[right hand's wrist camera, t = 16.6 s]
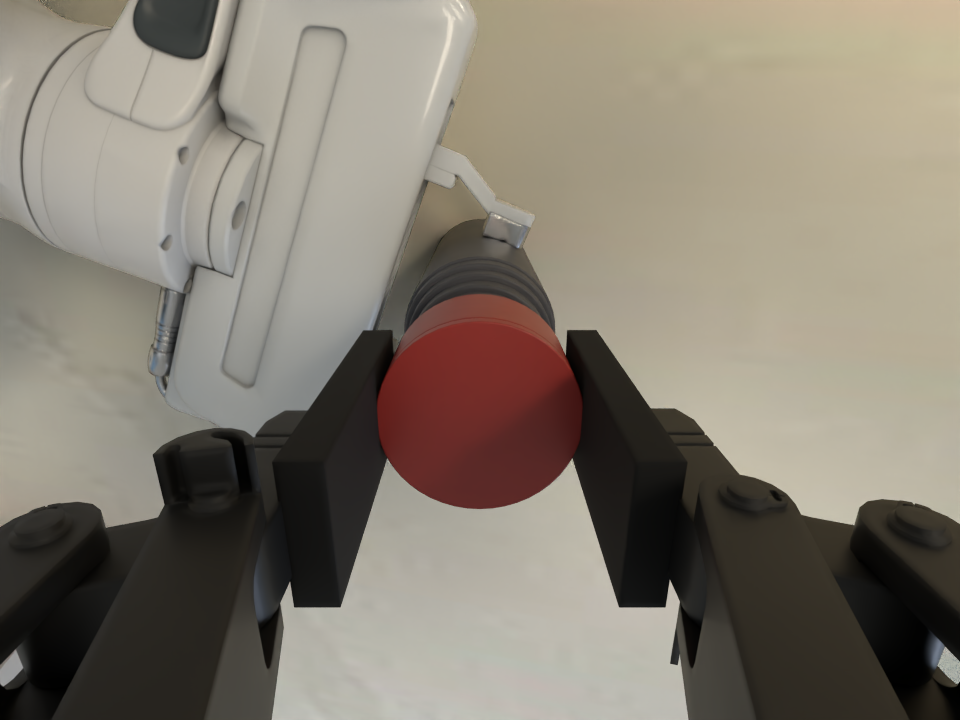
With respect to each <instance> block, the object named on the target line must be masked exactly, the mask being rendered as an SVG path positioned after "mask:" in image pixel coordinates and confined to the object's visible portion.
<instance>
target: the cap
mask: <svg viewBox="0 0 960 720" xmlns="http://www.w3.org/2000/svg"><path fill="white" fill-rule="evenodd" d="M582 408H583V400H582V395H581V391H580V388H579V385H578V382H577V380H576V378H575V376H574V373H573V371H572V369H571V367H570V364H569V362H568V360H567V358H566V356H565V353H564V351H563V349H562V347H561V344H560V342H559V340H558V338H557V337H556V335H555V333H554V332H553V330H552V329H551V328H550V326H549V325H548V324H547V323H546V322H545V321H544V320H543V319H542V318H541V317H540V316H539V315H538V314H536V313H535V312H534V311H532V310H531V309H529V308H528V307H526V306H524V305H522V304H520V303H518V302H516V301H514V300H511V299H508V298H505V297H500V296H495V295H487V294H473V295H464V296H459V297H455V298H452V299H449V300H446V301H443V302H441V303H439V304H437V305H435V306H433V307H432V308H430V309H429V310H427V311H426V312H424V313H423V314H422V315H421V316H420V317H419V318H417V319H416V320H415V321H414V322H413V324H412V325H411V326H410V327H409V328H408V330H407V331H406V333H405V334H404V336H403V337H402V339H401V341H400V343H399V345H398V348H397V350H396V352H395V354H394V357H393V359H392V361H391V363H390V366H389V368H388V370H387V373H386V375H385V377H384V379H383V382H382V384H381V387H380V390H379V394H378V398H377V415H378V428H379V439H380V443H381V446H382V448H383V450H384V452H385V455H386V457H387V458H388V460H389V461H390V463H391V464H392V466H393V467H394V469H395V470H396V471H397V472H398V473H399V475H400V476H401V477H402V478H403V479H404V480H405V481H407V482H408V483H409V484H410V485H411V486H413V487H414V488H415V489H417V490H418V491H419V492H421V493H423V494H425V495H426V496H428V497H430V498H432V499H435V500H437V501H440V502H442V503H445V504H449V505H452V506H457V507H463V508H472V509H488V508H497V507H503V506H507V505H511V504H514V503H518V502H520V501H522V500H525V499H527V498H529V497H531V496H533V495H535V494H537V493H538V492H540V491H542V490H543V489H544V488H546V487H547V486H548V485H550V484H551V483H552V482H553V481H554V480H555V479H556V478H557V477H558V476H559V475H560V474H561V473H562V472H563V471H564V469H565V468H566V467H567V465H568V464H569V462H570V461H571V459H572V458H573V456H574V454H575V451H576V449H577V447H578V445H579V442H580V435H581V422H582Z"/></svg>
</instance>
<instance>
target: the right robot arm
mask: <svg viewBox="0 0 960 720" xmlns="http://www.w3.org/2000/svg"><path fill="white" fill-rule="evenodd" d="M393 357H394V351H393V334H392V330H363V331H362V333H361V334H360V336H359V337H358V339H357V340H356V341H355V343H354V344H353V346H352V347H351V349H350V350H349V352H348V353H347V354H346V356H345V357H344V359H343V360H342V362H341V363H340V365H339V366H338V367H337V369H336V370H335V372H334V373H333V375H332V376H331V378H330V379H329V380H328V382H327V383H326V385H325V386H324V388H323V389H322V391H321V392H320V393H319V395H318V396H317V398H316V399H315V401H314V402H313V404H312V405H311V406H310V408H309V409H308V410H285V411H283V412H281V413H280V414H278V415H276V416H275V417H273V418H271V419H270V420H268V421H266V422H265V423H264V425H263V426H262V427H261V428H260V430H259V431H258V432H257V433H256V434H255V437H253V436H251V435H250V434H249V433H247V432H246V431H243V430H239V429H234V428H213V429H207V430H202V431H196V432H193V433H190V434H187V435H184V436H181V437H178V438H176V439H174V440H172V441H170V442H168V443H166V444H164V445H163V446H161V447H160V448H159V449H158V450H157V451H156V452H155V453H154V454H153V458H154V462H155V466H156V471H157V475H158V479H159V483H160V487H161V491H162V496H163V500H164V504H165V505H164V507H163V509H162V511H161V513H160V515H159V517H158V518H154V519H150V520H145V521H140V522H135V523H129V524H124V525H119V526H114V527H108V528H106V527H105V523H104V520H103V516H102V513H101V510H100V509H99V508H97V507H96V506H95V505H93V504H89V503H82V502H72V503H62V504H61V503H57V504H52V505H48V507H45V506H44V507H40V508H37V509H34V510H32V511H30V512H29V513H27V514H25V515H22V516H20V517H17V518H15V519H13V520H11V521H10V522H8V523H6V524H5V525H3V526H1V527H0V665H1V664H2V663H3V662H4V661H5V660H6V659H7V658H8V657H9V656H10V654H11V653H12V652H13V651H14V650H15V649H16V651H17V654H18V656H19V659H20V661H21V664H22V666H23V669H22V670H21V671H20V672H19V673H18V674H17V675H16V676H15V678H14V679H12V680H11V681H10V682H9V683H7V684H6V685H5V686H4V687H3V686H2V685H1V684H0V720H272V713H273V705H274V698H275V690H276V682H277V675H278V667H279V660H280V652H281V645H282V637H283V630H284V625H283V618H282V612H281V606H280V602H281V600H282V598H283V596H284V593H285V591H286V589H287V587H288V584H289V582H290V583H291V590H292V596H293V603H294V607H341V604H342V601H343V598H344V594H345V591H346V588H347V585H348V582H349V578H350V575H351V572H352V569H353V566H354V562H355V559H356V556H357V553H358V550H359V546H360V543H361V540H362V537H363V534H364V530H365V527H366V524H367V521H368V518H369V514H370V511H371V508H372V505H373V502H374V498H375V495H376V492H377V489H378V486H379V483H380V479H381V476H382V473H383V470H384V467H385V463H386V460H387V457H386V455H385V452H384V450H383V448H382V446H381V443H380V439H379V428H378V415H377V398H378V394H379V390H380V387H381V384H382V382H383V379H384V377H385V375H386V373H387V370H388V368H389V366H390V363H391V361H392V359H393ZM566 358H567V360H568V362H569V364H570V367H571V369H572V371H573V373H574V376H575V378H576V380H577V382H578V385H579V388H580V391H581V395H582V400H583V408H582V422H581V435H580V442H579V445H578V447H577V449H576V451H575V454H574V456H573V461H574V464H575V468H576V471H577V474H578V477H579V480H580V484H581V487H582V490H583V493H584V496H585V500H586V503H587V506H588V509H589V512H590V516H591V519H592V522H593V525H594V528H595V532H596V535H597V538H598V541H599V544H600V548H601V551H602V554H603V557H604V560H605V564H606V567H607V570H608V573H609V576H610V580H611V583H612V586H613V589H614V592H615V596H616V599H617V602H618V605H619V607H666V600H667V594H668V587H669V581H670V580H671V583H672V585H673V587H674V589H675V591H676V594H677V596H678V598H679V600H680V606H679V612H678V618H677V624H676V630H675V636H674V642H673V648H672V655H671V662H670V664H675V665H678V660H679V655H680V659H681V666H682V674H683V681H684V689H685V696H686V704H687V711H688V719H689V720H960V682H959V683H958V684H955V683H954V682H953V681H952V680H951V679H950V678H948V677H947V676H946V675H945V674H944V672H943V671H942V670H941V669H940V668H939V667H938V666H937V665H938V662H939V660H940V657H941V655H942V652H943V650H944V647H946V648H947V649H948V650H949V651H950V652H951V653H952V654H953V655H954V656H955V657H956V658H957V659H958V660H959V661H960V524H959V523H957V522H955V521H954V520H952V519H950V518H949V517H947V516H945V515H942V514H940V513H938V512H935V511H933V510H931V509H930V508H928V507H926V506H922V505H919V504H916V503H915V504H913V503H912V502H907V501H894V500H884V499H881V500H874V501H868V502H866V503H865V504H864V505H862V506H861V507H860V508H859V511H858V515H857V518H856V522H855V525H849V524H844V523H838V522H833V521H828V520H822V519H817V518H812V517H808V516H804V515H801V514H800V512H799V510H798V508H797V506H796V504H795V503H794V502H793V501H792V500H791V498H790V497H789V496H788V495H787V494H786V493H784V492H783V491H781V490H780V489H778V488H777V487H775V486H773V485H772V484H769V483H767V482H764V481H761V480H759V479H756V478H753V477H748V476H743V475H739V473H738V472H737V471H736V470H735V469H734V467H733V466H732V465H731V464H730V463H729V461H728V460H727V459H726V458H725V457H724V455H723V454H722V453H721V452H720V451H719V449H718V448H717V447H716V446H714V445H713V442H712V441H711V440H710V439H709V437H708V436H707V435H705V434H704V431H703V430H702V429H701V428H700V427H699V425H698V424H697V423H696V422H695V421H694V419H692V418H690V417H688V416H687V415H685V414H683V413H682V412H680V411H678V410H676V409H651V408H650V407H649V406H648V404H647V403H646V401H645V400H644V398H643V397H642V395H641V394H640V393H639V391H638V390H637V388H636V387H635V385H634V384H633V382H632V381H631V380H630V378H629V377H628V375H627V374H626V372H625V371H624V369H623V368H622V367H621V365H620V364H619V362H618V361H617V359H616V358H615V356H614V355H613V354H612V352H611V351H610V349H609V348H608V346H607V345H606V343H605V342H604V341H603V339H602V338H601V336H600V335H599V333H598V332H597V330H567V345H566Z"/></svg>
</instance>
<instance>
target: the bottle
mask: <svg viewBox="0 0 960 720" xmlns="http://www.w3.org/2000/svg"><path fill="white" fill-rule="evenodd" d="M485 221H486V220H483V219H477V220H470V221H466V222H463V223H461V224H459V225H457V226H455V227H454V228H452V229H451V230H450V231H449V232H448V233H446V234H445V236H444V237H443V238H442V240H441V241H440V243H439V244H438V246H437V248H436V250H435V252H434V254H433V256H432V258H431V260H430V262H429V264H428V266H427V268H426V270H425V272H424V274H423V276H422V278H421V280H420V282H419V284H418V286H417V288H416V290H415V292H414V294H413V296H412V298H411V301H410V303H409V305H408V309H407V312H406V318H405V333H406V331H407V330H408V328H409V327H410V326H411V325H412V324H413V322H414V321H415V320H416V319H417V318H419V317H420V316H421V315H422V314H423V313H424V312H426V311H427V310H429V309H430V308H432V307H433V306H435V305H437V304H439V303H441V302H443V301H446V300H449V299H452V298H455V297H459V296H464V295H473V294H487V295H495V296H500V297H505V298H508V299H511V300H514V301H516V302H518V303H520V304H522V305H524V306H526V307H528V308H529V309H531V310H532V311H534V312H535V313H536V314H538V315H539V316H540V317H541V318H542V319H543V320H544V321H545V322H546V323H547V324H548V325H549V326H550V328H551V329H552V330H553V332H554V333H555V319H554V314H553V310H552V307H551V303H550V301H549V299H548V297H547V295H546V293H545V291H544V289H543V287H542V285H541V283H540V281H539V279H538V277H537V275H536V273H535V271H534V269H533V267H532V265H531V263H530V261H529V259H528V257H527V255H526V253H525V251H524V249H523V247H522V249H517V248H515V247H512V246H511V245H509V244H507V243H506V242H505V240H504V239H502V240H496V239H492V238H490V237H487V236H485V235H482V232H483V231H482V229H483V226H484V223H485Z"/></svg>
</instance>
